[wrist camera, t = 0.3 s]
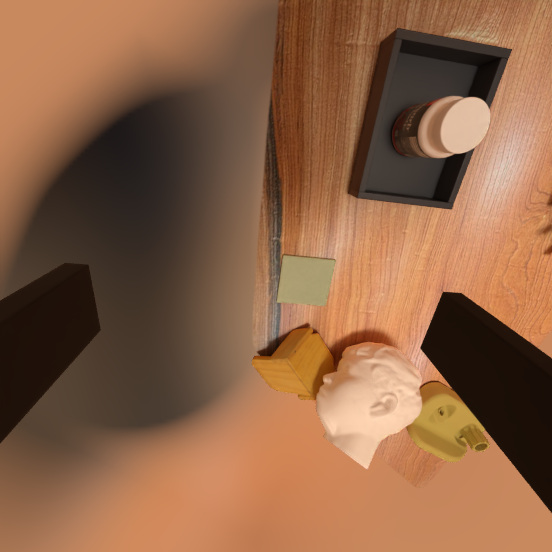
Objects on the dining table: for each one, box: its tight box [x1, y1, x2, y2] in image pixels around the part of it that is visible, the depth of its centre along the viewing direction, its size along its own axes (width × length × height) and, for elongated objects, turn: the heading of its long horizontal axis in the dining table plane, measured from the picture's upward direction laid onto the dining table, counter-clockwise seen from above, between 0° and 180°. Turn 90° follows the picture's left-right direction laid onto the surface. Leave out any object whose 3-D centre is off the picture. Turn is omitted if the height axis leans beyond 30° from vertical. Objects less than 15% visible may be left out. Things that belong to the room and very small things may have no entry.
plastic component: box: [406, 382, 490, 462], centre depth 54 cm, size 20×7×10 cm
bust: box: [316, 342, 422, 469], centre depth 44 cm, size 12×18×14 cm
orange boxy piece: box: [252, 327, 336, 400], centre depth 49 cm, size 10×10×9 cm
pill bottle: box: [392, 96, 490, 158], centre depth 30 cm, size 6×6×10 cm
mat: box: [277, 254, 336, 306], centre depth 43 cm, size 8×8×1 cm
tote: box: [348, 28, 512, 209], centre depth 33 cm, size 17×13×4 cm
